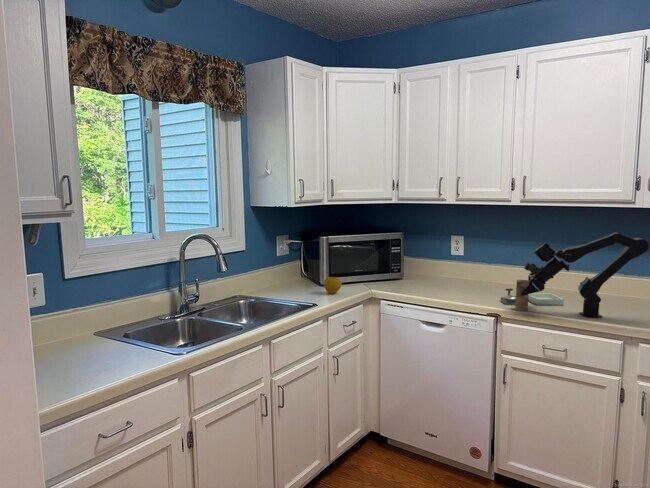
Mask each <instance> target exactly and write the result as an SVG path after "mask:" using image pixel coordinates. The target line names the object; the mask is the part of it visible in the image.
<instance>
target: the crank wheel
mask: <svg viewBox="0 0 650 488" xmlns="http://www.w3.org/2000/svg"><path fill="white" fill-rule="evenodd" d="M505 291H507V295H504V296H503V297H504V299H507V300H516V295H512V294H511V292H512V291H514V289H513V288H505Z"/></svg>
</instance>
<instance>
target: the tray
mask: <svg viewBox="0 0 650 488" xmlns="http://www.w3.org/2000/svg"><path fill="white" fill-rule="evenodd" d="M529 302H530V303H532V304H533V305H535V306H537V307H540V306H543V307H549V306H550V307H551V306H552V307H553V306H554V307H557V306H559V307H561V306H562V307H564V303H565V298H562V297H560V296H558V295H556V294H554V293H549V292H547V293H546V292H545V293H543V292H541V293H540V292H535V293H531V294H529V295H528V303H529Z"/></svg>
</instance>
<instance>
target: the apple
mask: <svg viewBox="0 0 650 488" xmlns="http://www.w3.org/2000/svg"><path fill="white" fill-rule="evenodd" d="M323 287H324V289H325V291H326V292H327V293H328V295H335V294H337V293H338V292H339V291H340V289H341V287H342V281H341V279H340V278H339V277H336V276H329V277H326V278H325V279H324V280H323Z"/></svg>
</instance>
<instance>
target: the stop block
mask: <svg viewBox="0 0 650 488" xmlns="http://www.w3.org/2000/svg"><path fill="white" fill-rule="evenodd" d="M515 283H516V284H515V285H516V287H515V296H516V305H514V306H515V309H514V310H515V311H516V312H527V313H528V311H529V301H528V295H529V294H528V295H524V296H522V295H521V293H522V292H523V291H524V289H525V288H526V287H527V286H528V285H529V280H528V279H516V282H515Z"/></svg>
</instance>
